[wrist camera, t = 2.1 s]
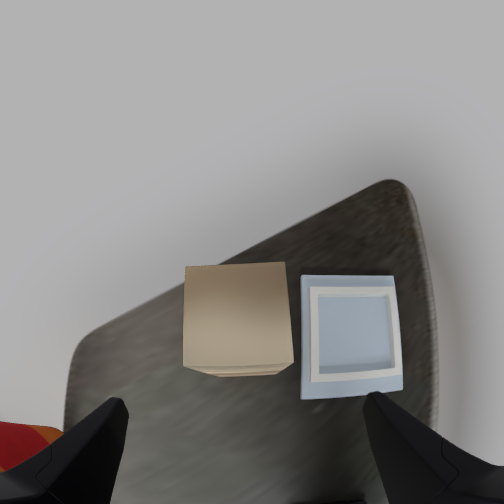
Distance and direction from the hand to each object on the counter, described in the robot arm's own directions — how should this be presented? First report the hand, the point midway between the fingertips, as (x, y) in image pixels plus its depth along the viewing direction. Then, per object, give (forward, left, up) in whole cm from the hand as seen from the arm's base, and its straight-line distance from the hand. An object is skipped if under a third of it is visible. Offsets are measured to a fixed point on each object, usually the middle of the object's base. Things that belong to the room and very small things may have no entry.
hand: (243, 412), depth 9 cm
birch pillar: (+4, +1, -12) cm, 13 cm away
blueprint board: (+5, -8, -12) cm, 15 cm away
